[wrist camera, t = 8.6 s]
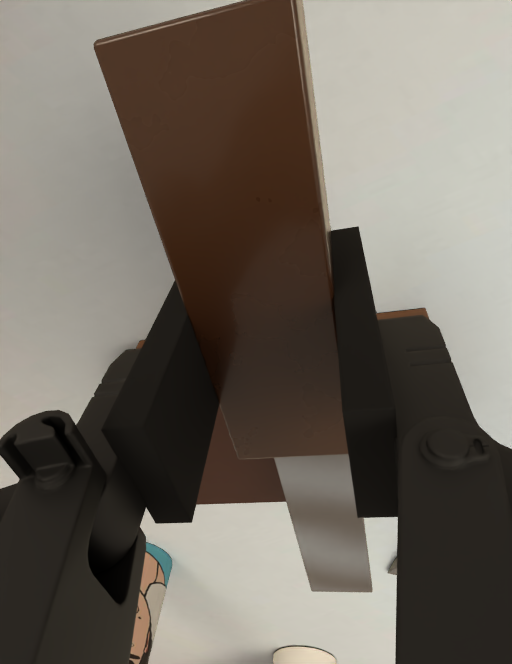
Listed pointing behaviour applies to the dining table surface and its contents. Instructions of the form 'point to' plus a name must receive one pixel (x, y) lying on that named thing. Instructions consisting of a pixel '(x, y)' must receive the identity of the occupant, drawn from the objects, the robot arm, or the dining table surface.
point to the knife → (250, 245)
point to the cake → (235, 472)
